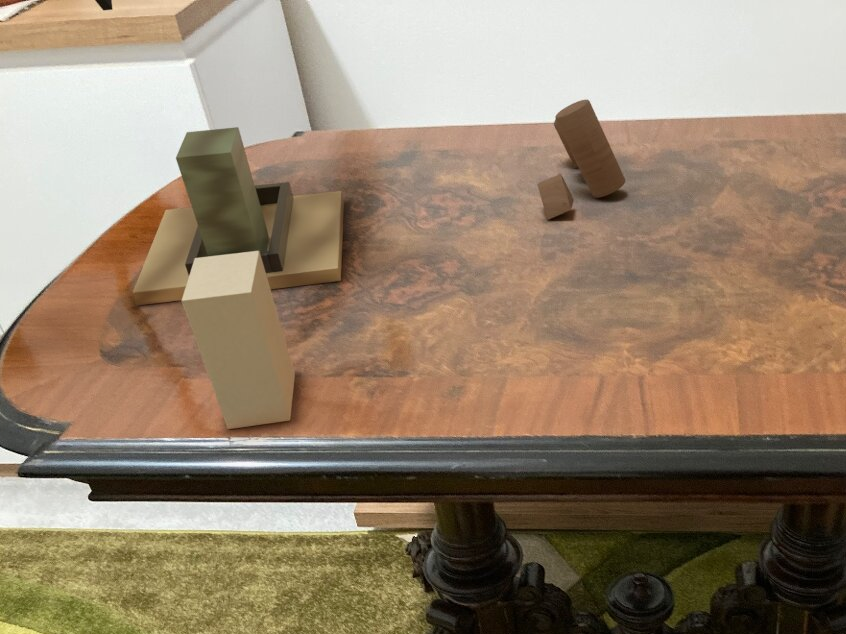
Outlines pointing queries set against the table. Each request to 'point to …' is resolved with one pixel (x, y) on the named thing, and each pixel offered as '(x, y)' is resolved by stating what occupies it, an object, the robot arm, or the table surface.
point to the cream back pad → (240, 338)
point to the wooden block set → (581, 159)
